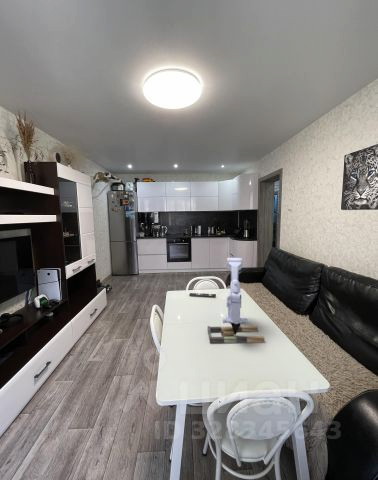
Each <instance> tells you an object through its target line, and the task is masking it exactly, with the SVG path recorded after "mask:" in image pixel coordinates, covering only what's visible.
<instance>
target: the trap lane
mask: <svg viewBox="0 0 378 480" xmlns="http://www.w3.org/2000/svg"><path fill="white" fill-rule="evenodd" d="M221 327H222V326H210V325H207V335H208V340H209V343H210V344H227V343H231V344H235V343H236V344H237V343H241V344H242V343H265V336H264V335H251V336H250V335H248V336H247V335H246V336H245V335H244V336H243V335H242V336H237V335H234V337H222V336H212V333H221ZM225 327H231V328H232V325H230V326H229V325H228V326H225ZM232 330H233V328H232ZM238 332H239V333H240V332H241V333H242V332H243V333H245V332H247V333H248V332H249V333H250V332H251V333H252V332H259V327H258V325H243V326H242V325H240V327H239V328H238V330H237V333H238Z"/></svg>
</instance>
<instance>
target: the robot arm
mask: <svg viewBox="0 0 378 480" xmlns="http://www.w3.org/2000/svg"><path fill="white" fill-rule="evenodd" d="M226 259H227V260H226V266H227V269H228V270H230V293H229V294H227V296H226V308H227V315H226V318H222V323H223V324H226V323H228V324H230V326H232V328H233V331H234V336H237V333H238V332H237V330H238V328H239V327H240V326H241V323H245V324H248V321H249V320H248V319H247V318H246V317H245V318H244V317H241V308H242V291H241V282H240V281H239V271H240V270H242V267H243V258H242V257H227V258H226Z"/></svg>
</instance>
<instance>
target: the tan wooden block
mask: <svg viewBox="0 0 378 480" xmlns="http://www.w3.org/2000/svg"><path fill="white" fill-rule="evenodd" d="M220 327H221V332H220V336H221V337H234V336H235V335H234V331H233V330H232V328H231V327H226V326H220Z"/></svg>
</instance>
